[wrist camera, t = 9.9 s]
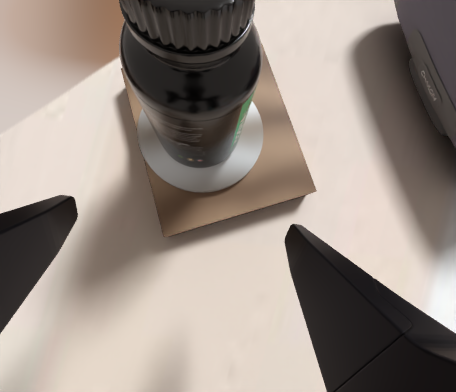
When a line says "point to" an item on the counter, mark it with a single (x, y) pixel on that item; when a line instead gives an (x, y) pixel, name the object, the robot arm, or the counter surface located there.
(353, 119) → the counter surface
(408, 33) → the bluetooth speaker
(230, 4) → the supplement bottle
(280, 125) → the walnut board
